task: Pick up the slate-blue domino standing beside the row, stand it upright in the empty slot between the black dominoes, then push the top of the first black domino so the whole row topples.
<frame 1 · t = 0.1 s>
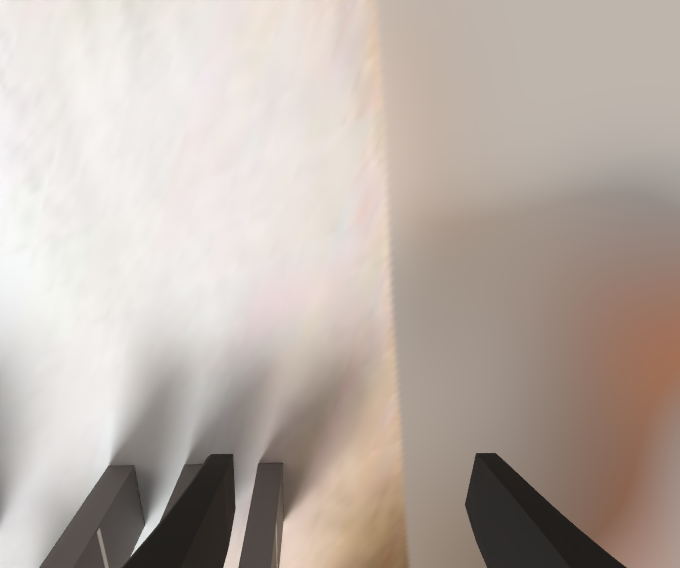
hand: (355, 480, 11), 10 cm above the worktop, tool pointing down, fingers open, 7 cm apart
tile 3: (127, 496, 23), on the worktop
tile 2: (200, 495, 24), on the worktop
tile 1: (271, 493, 24), on the worktop
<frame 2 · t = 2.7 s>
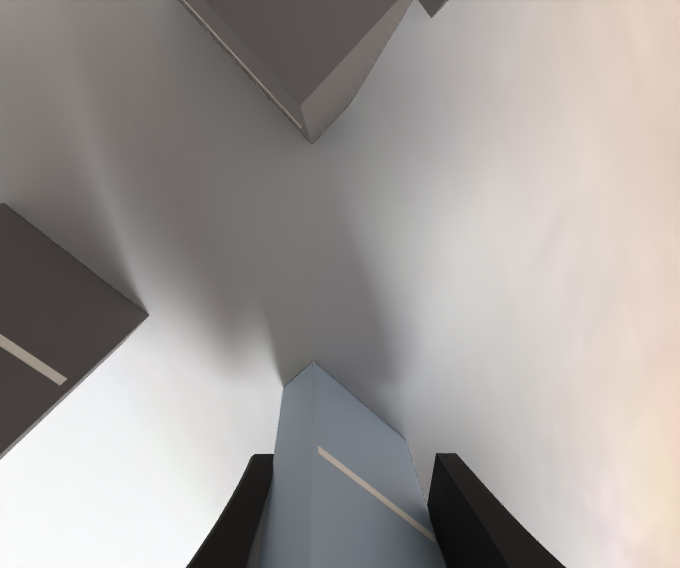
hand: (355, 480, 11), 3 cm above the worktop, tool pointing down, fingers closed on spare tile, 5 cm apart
tile 3: (264, 50, 10), on the worktop
tile 5: (66, 279, 11), on the worktop
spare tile: (347, 415, 14), on the worktop, touching gripper
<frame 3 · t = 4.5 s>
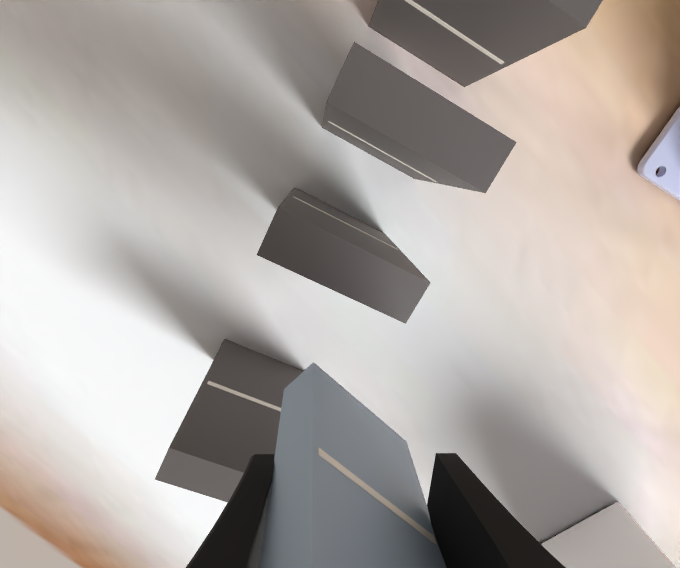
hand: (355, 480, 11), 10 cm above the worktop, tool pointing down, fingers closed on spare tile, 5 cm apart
tile 3: (333, 224, 18), on the worktop
tile 2: (377, 138, 17), on the worktop
tile 5: (261, 367, 21), on the worktop
tile 1: (426, 40, 16), on the worktop
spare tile: (347, 416, 14), point 7 cm above the worktop, touching gripper
milk carton: (589, 546, 28), on the worktop
when the fingers open (4 cm above the worktop, at t = 6.7 s): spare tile stays where it is, on the worktop.
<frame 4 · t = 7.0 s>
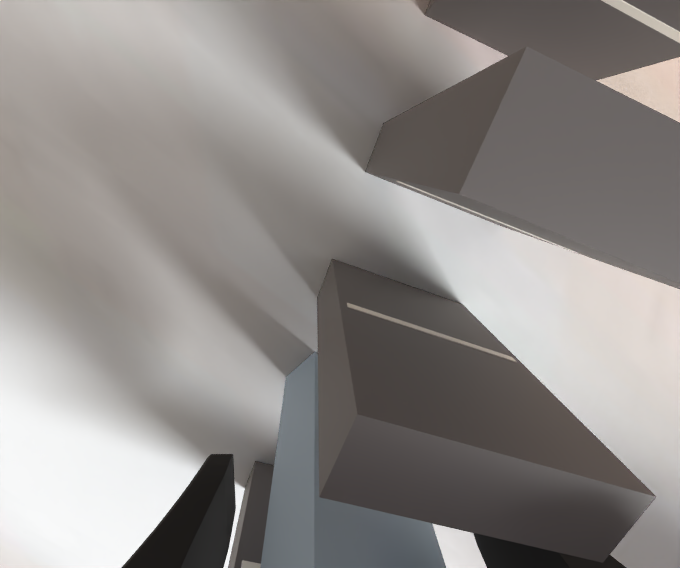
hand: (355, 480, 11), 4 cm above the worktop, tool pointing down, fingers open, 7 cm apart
tile 3: (390, 301, 13), on the worktop
tile 2: (445, 177, 12), on the worktop
tile 5: (307, 488, 16), on the worktop
tile 1: (513, 24, 11), on the worktop
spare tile: (346, 404, 14), on the worktop
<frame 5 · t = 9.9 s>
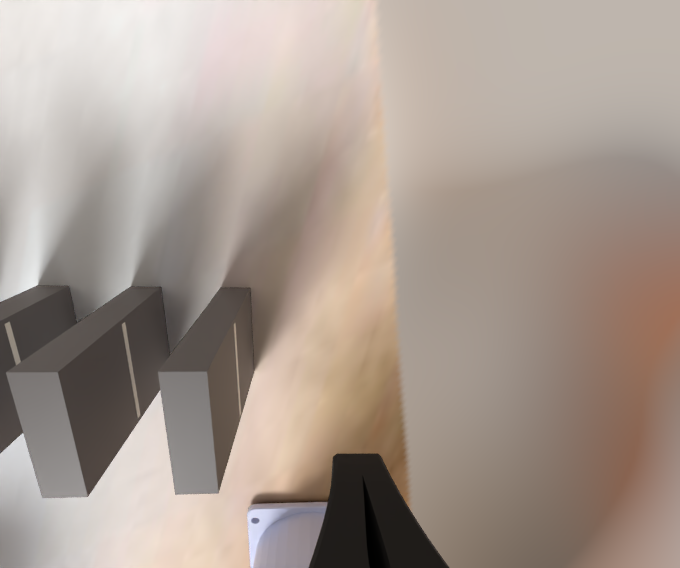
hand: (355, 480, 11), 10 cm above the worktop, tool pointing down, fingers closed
tile 3: (63, 330, 19), on the worktop
tile 2: (152, 331, 20), on the worktop
tile 1: (238, 331, 20), on the worktop
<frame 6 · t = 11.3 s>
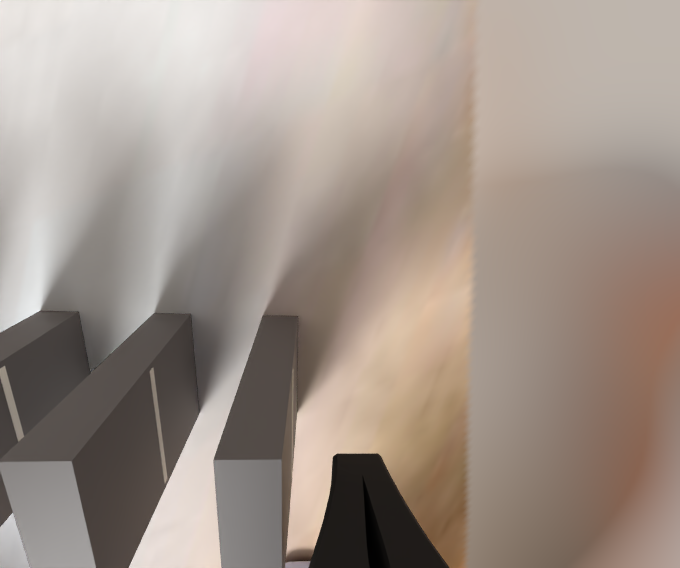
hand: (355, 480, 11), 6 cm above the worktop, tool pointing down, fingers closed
tile 3: (70, 364, 16), on the worktop
tile 2: (177, 365, 16), on the worktop
tile 1: (280, 366, 17), on the worktop
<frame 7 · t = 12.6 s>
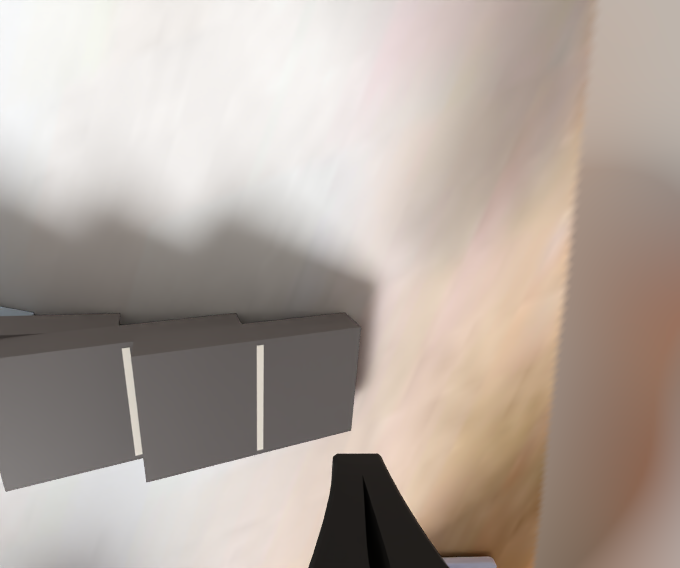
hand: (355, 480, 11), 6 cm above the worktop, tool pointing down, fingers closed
tile 3: (119, 376, 15), point 1 cm above the worktop, tilted 68°, touching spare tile, tile 2
tile 2: (240, 373, 16), point 1 cm above the worktop, tilted 68°, touching tile 1, tile 3
tile 1: (348, 372, 16), point 1 cm above the worktop, tilted 70°, touching tile 2
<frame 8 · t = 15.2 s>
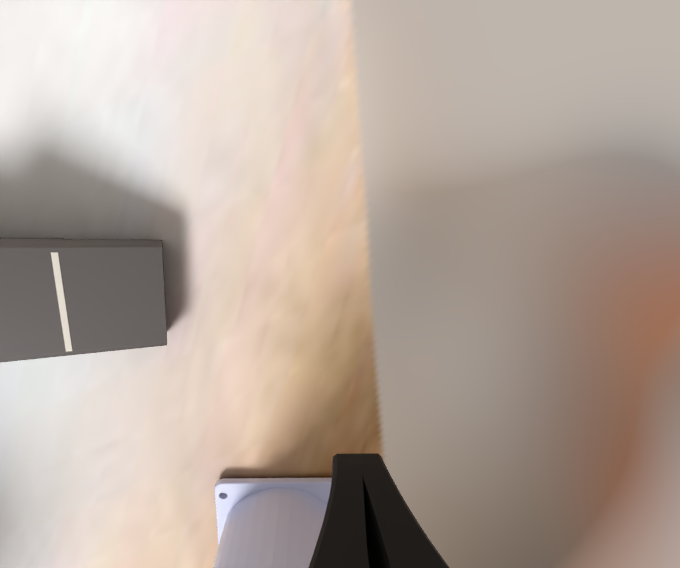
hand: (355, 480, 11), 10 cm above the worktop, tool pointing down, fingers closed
tile 1: (164, 293, 18), point 1 cm above the worktop, tilted 69°, touching tile 2
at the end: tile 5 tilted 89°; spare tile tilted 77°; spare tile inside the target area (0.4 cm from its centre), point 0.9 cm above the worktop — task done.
